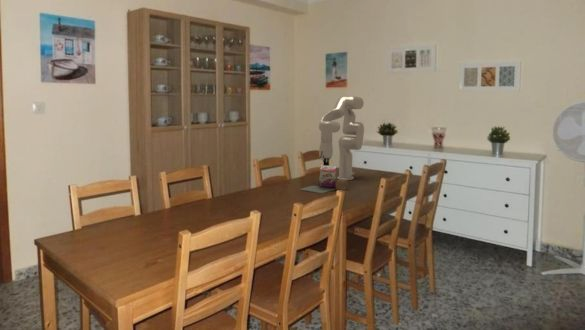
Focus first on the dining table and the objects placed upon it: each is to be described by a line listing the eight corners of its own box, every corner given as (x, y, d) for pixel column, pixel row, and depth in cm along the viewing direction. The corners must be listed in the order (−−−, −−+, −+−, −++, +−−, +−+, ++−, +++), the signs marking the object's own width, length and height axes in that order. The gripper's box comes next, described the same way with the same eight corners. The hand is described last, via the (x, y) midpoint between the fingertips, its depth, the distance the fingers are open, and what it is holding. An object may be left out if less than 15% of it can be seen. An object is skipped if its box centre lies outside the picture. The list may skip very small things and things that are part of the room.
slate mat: (312, 186, 302) (312, 185, 301) (334, 189, 291) (334, 188, 291) (299, 190, 290) (299, 189, 290) (322, 193, 279) (322, 192, 279)
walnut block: (338, 187, 297) (338, 179, 296) (347, 188, 295) (347, 179, 294) (335, 189, 292) (335, 180, 291) (344, 190, 289) (344, 181, 288)
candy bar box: (318, 186, 297) (319, 169, 286) (318, 181, 301) (319, 164, 289) (334, 188, 296) (336, 171, 285) (335, 182, 300) (337, 165, 288)
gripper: (328, 139, 301) (327, 166, 304) (315, 141, 290) (315, 168, 293) (337, 140, 297) (336, 167, 300) (324, 141, 285) (324, 170, 288)
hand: (326, 167), depth 296 cm, fingers closed
